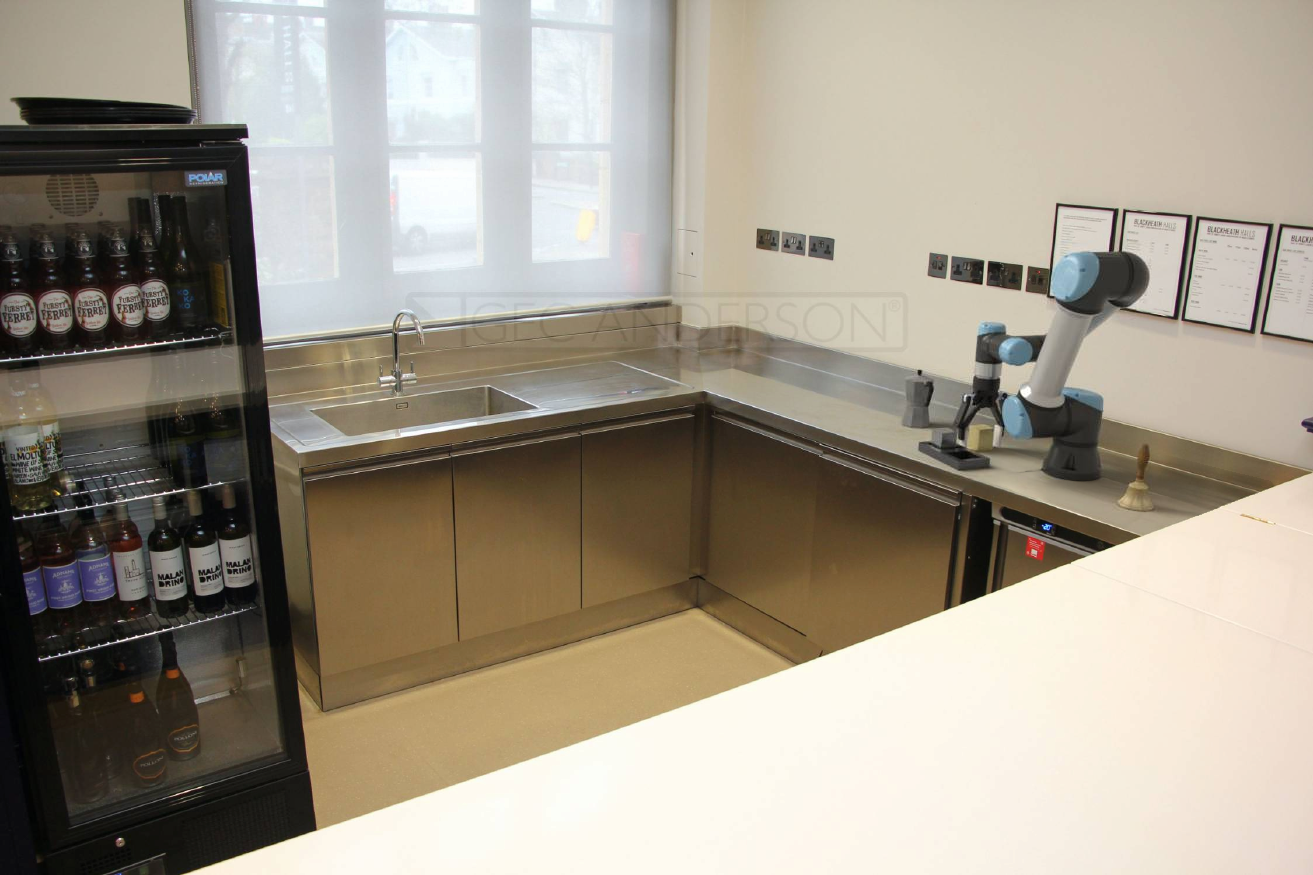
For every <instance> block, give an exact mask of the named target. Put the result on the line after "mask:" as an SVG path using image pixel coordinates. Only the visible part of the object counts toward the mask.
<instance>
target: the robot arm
mask: <svg viewBox="0 0 1313 875" xmlns="http://www.w3.org/2000/svg"><path fill="white" fill-rule="evenodd" d="M1051 274H1052V275H1051V280H1050V281H1051V282H1052V283H1051V285H1050V287H1051V291H1052V294H1053V296H1054V301H1055V304H1056V305H1057V307H1056V310H1055V313H1054V316H1053V318H1052V321H1051V323H1050V326H1049V328H1048V331H1047V333H1045V334H1035V335H1010V334H1007V327H1006V324H1004V323H1002V322H998V321H997V322H995V321H984V322H981V323H980V324H979V325H978V330H977V331H978V332H977V335H976V347H975V360H974V366H973V369H974V370H973V373H974V376H973V378H972V390H973V391H972V393H971V394H966V393H964V394H963V395H962V396H961V397H962V399H961V403H960V406H959V409H958V410H957V413H956V414H955V418H954V421H953V423H952V426H953V427H955V428H957V429H958V431H957V440H959V442H958V444H959V445H962V446H964V447H966V448H968V437H969V429H967V428H969V426H970V425H971V423H972V421H973V419H974V418H975V416H976V414H977V413H978V412H979V411H980V410H981V409H986V408H987V409H990V411H991V413H992V416H993V418H994V419H995V421H996V424H994V428H995V429H994V438H993V447H996V448H999V449H1001V446H1002V438H1003V437H1004V435H1005V429H1006V431H1007V433H1008V434H1009V435H1010V436H1011V437H1012V438H1014V439H1016V440H1026V441H1028V440H1035V439H1052V440H1051V442H1050V443H1051V444H1050V446H1049V449H1048V451H1047V453H1046V455H1045V457H1044V458H1043V460H1042V464H1041V470H1042V472H1044V473H1045V474H1047V475H1049V476H1052V477H1055V478H1060V479H1064V480H1072V481H1094V480H1097V479H1099V478H1101V476H1102V470H1103V467H1102V464H1101V459H1100V452H1099V449H1098V448H1099V440H1100V433H1101V432H1100V431H1101V424H1102V420H1103V413H1104V397H1103V396H1102V395H1101V394H1099V393H1097V392H1095V391H1092V390H1086V389H1083V388H1079V387H1072V386H1065V385H1066V383H1067V380H1068V378H1069V375H1070V374H1071V371H1072V368H1073V366H1074V363H1075V361H1076V359H1077V356H1078V354H1079V351H1080V349H1081V346H1082V345H1083V341H1084V339H1085V338H1086V337H1088V336H1089V335H1090V334H1091V333H1093V332H1094V331H1095V330H1097V328H1098V327H1100V326H1101V325H1102V324H1103V323H1105V322H1106V321H1107V320H1108V319H1110V318H1111V317H1112V316H1114V315H1115V314H1116V313H1117V312H1118V311H1119V310H1120V309H1126V308H1129V307H1131V306H1132V305H1134V303H1136V302H1137V301H1139V299H1141V297H1143V295H1144V294H1145V292H1146V291H1147V289H1148V287H1149V283H1150V280H1151V279H1150V270H1149V267H1148V265H1147V264H1146V261H1144V259H1143V258H1142V257H1140V256H1139V255H1137V254H1135V253H1133V252H1131V251H1125V250H1123V251H1120V250H1119V251H1087V250H1082V251H1079V252H1070V253H1068V254H1066V255H1064V256H1063V257H1061V258H1060V260H1058V262H1057V264H1056V265H1055V266H1054V269H1053V272H1052V273H1051ZM1003 363H1005V364H1006V365H1009V366H1014V367H1021V366H1024V365H1026V364H1028V363H1030V364H1031V363H1034V364H1035V365H1034V367H1033V369H1032V372H1031V375H1030V376H1029V379H1028V381H1025V382H1023V383H1022V384H1021V385H1020V387H1019V389H1018V391H1017V394H1016V395H1010V396H1008V395H1009V394H1008V393H1007V392H1004V391H999V390H1000V389H1001V388H1000V386H1001V376H1002V368H1003ZM997 400H998V404H999V406H998V404H997ZM999 408H1000V409H999Z"/></svg>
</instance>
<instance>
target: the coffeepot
mask: <svg viewBox="0 0 1313 875" xmlns="http://www.w3.org/2000/svg"><path fill="white" fill-rule="evenodd" d="M922 374H923V369H917V374H915V375H913V374H912V375H907V376H905V377H904V388H905V389H904V390H905V399H906V403H905V405H904V409H903V414H902V417H901V425H902V426H904V427H906V428H913V429H925V428H928V427H930V426H931V423H930V412H929V406H930V404H931V401H932V397H933V395H934V391H935V387H934V383H935V382H934V381H935V380H934V378H933V377H929V376H925V375H922Z"/></svg>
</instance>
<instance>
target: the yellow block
mask: <svg viewBox="0 0 1313 875" xmlns="http://www.w3.org/2000/svg"><path fill="white" fill-rule="evenodd" d="M994 429H995V427H992V426H989V425H987V424H985V423H981V424H969V426H968V440H967V448H969V449H971V450H973V451H975V452H980V451H981V452H983V451H992V450H993V447H994V446H993V438H994Z"/></svg>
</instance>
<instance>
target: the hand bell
mask: <svg viewBox="0 0 1313 875" xmlns="http://www.w3.org/2000/svg"><path fill="white" fill-rule="evenodd" d="M1150 455H1151V454H1150V446H1149V444H1147V443H1144V444H1143V443H1142V446H1141V447H1140V450H1139V451H1138V454H1137V466H1138V467H1137V473H1136V478H1135V481H1133V482H1130V483H1128V487H1127V489H1126V492H1125V494H1123V496H1122V497H1121V498H1119V499H1118V501H1117V503H1116V504H1118V506H1119V507H1122V508H1124V509H1127V510H1131V511H1137V512H1149V511H1150V512H1151V511H1153V510H1154V504H1153V503H1152V502H1151V500H1150V497H1149V486H1148V485H1147V484H1146V483H1144V480H1145V472H1146V467H1147V466H1148V464H1149V460H1150V457H1151V456H1150Z"/></svg>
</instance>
